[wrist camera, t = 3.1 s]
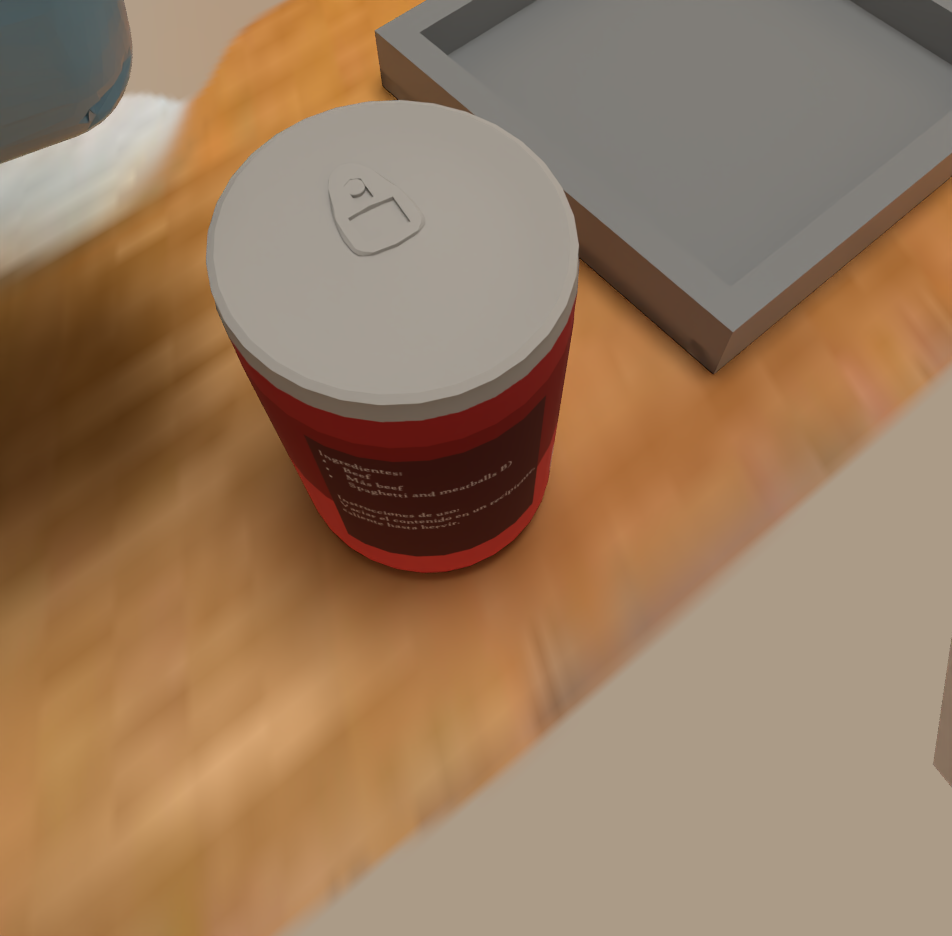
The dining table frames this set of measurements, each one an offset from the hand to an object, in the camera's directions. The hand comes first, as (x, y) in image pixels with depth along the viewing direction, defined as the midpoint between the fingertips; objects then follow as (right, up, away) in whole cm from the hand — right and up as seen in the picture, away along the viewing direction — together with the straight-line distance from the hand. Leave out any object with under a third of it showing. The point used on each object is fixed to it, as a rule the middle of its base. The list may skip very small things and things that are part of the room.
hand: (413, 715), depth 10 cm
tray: (+10, +18, +24) cm, 31 cm away
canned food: (-1, +3, +17) cm, 17 cm away
